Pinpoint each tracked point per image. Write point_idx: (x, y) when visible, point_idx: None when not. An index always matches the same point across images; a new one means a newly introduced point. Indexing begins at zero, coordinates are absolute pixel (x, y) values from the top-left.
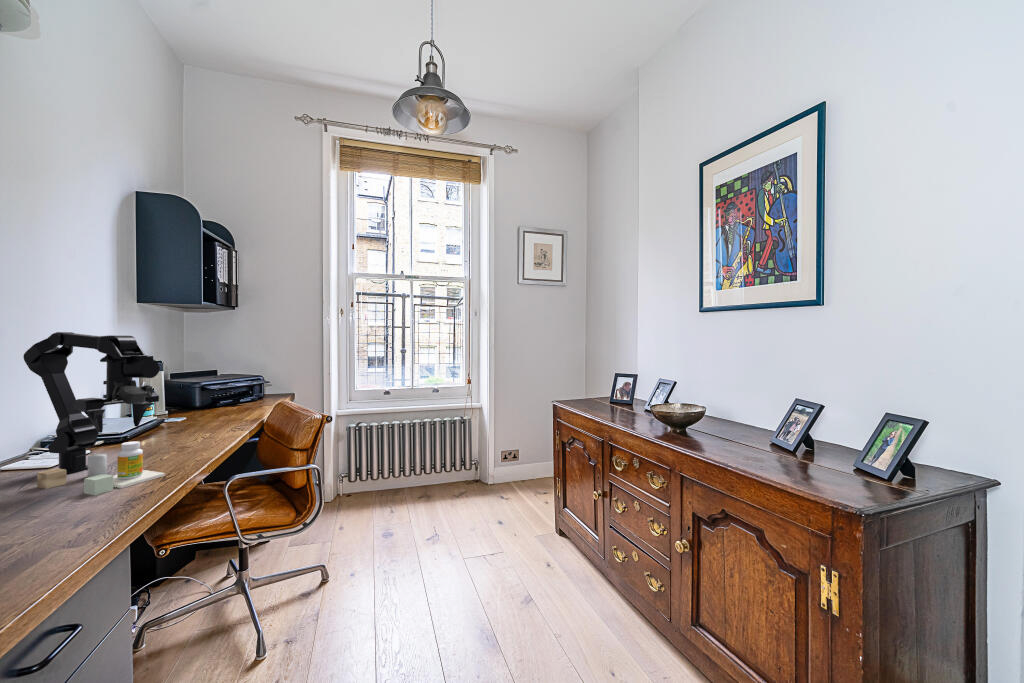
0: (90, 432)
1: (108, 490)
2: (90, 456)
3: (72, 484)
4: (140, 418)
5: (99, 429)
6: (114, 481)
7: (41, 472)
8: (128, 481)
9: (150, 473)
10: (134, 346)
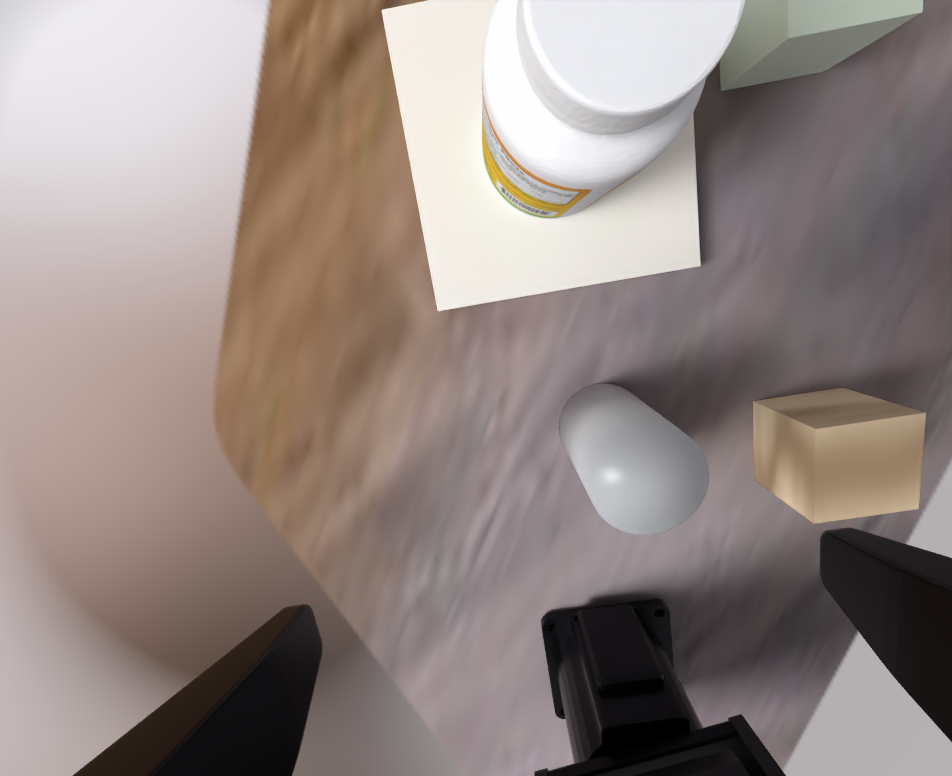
0: None
1: None
2: (687, 497)
3: (745, 359)
4: (174, 711)
5: (922, 554)
6: None
7: (909, 490)
8: None
9: (442, 104)
10: None
